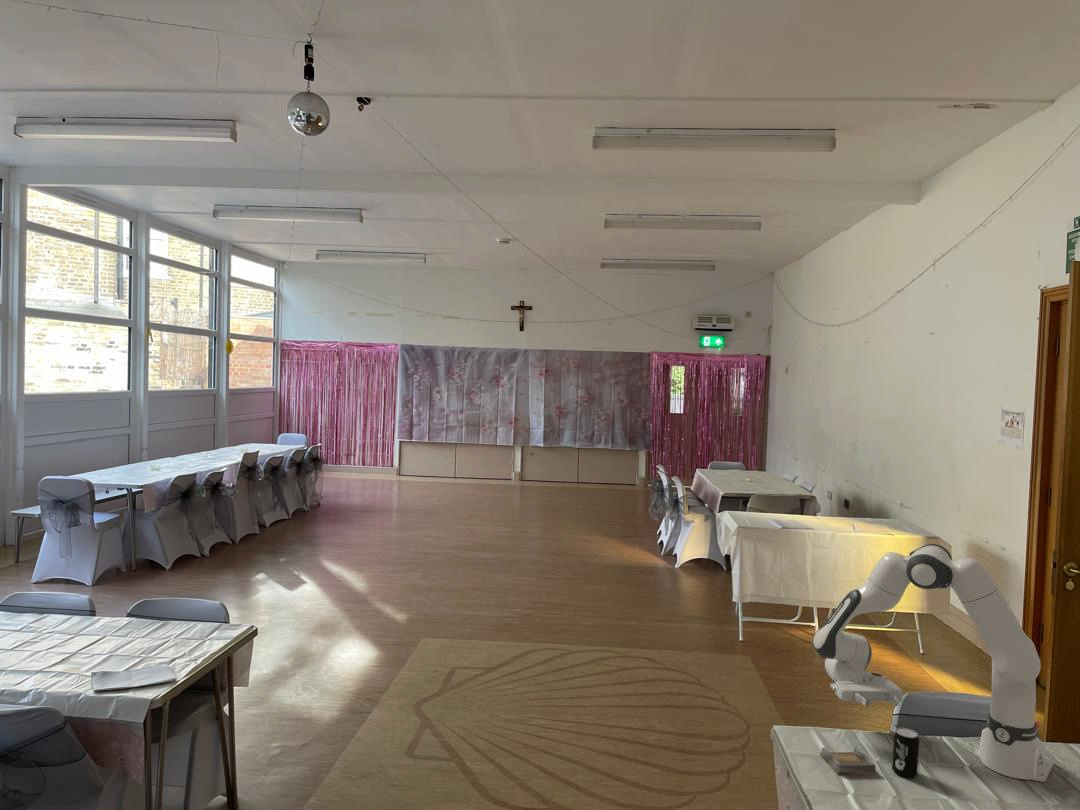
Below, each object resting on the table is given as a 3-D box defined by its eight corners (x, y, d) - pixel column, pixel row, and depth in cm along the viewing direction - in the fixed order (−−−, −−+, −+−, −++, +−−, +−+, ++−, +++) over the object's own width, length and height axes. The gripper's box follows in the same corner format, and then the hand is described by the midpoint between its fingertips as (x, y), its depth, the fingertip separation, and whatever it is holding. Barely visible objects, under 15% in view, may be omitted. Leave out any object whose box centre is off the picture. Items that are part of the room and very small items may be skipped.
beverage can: (920, 780, 206) (922, 739, 205) (895, 777, 207) (897, 736, 207) (913, 768, 212) (915, 728, 212) (888, 765, 213) (891, 725, 213)
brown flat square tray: (819, 755, 218) (820, 746, 218) (854, 754, 219) (855, 745, 219) (838, 775, 207) (838, 765, 207) (875, 774, 208) (875, 765, 208)
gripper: (828, 673, 234) (850, 692, 220) (888, 674, 236) (914, 693, 222) (826, 692, 234) (848, 713, 220) (886, 693, 236) (912, 713, 222)
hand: (882, 703), depth 221 cm, fingers open, 8 cm apart
